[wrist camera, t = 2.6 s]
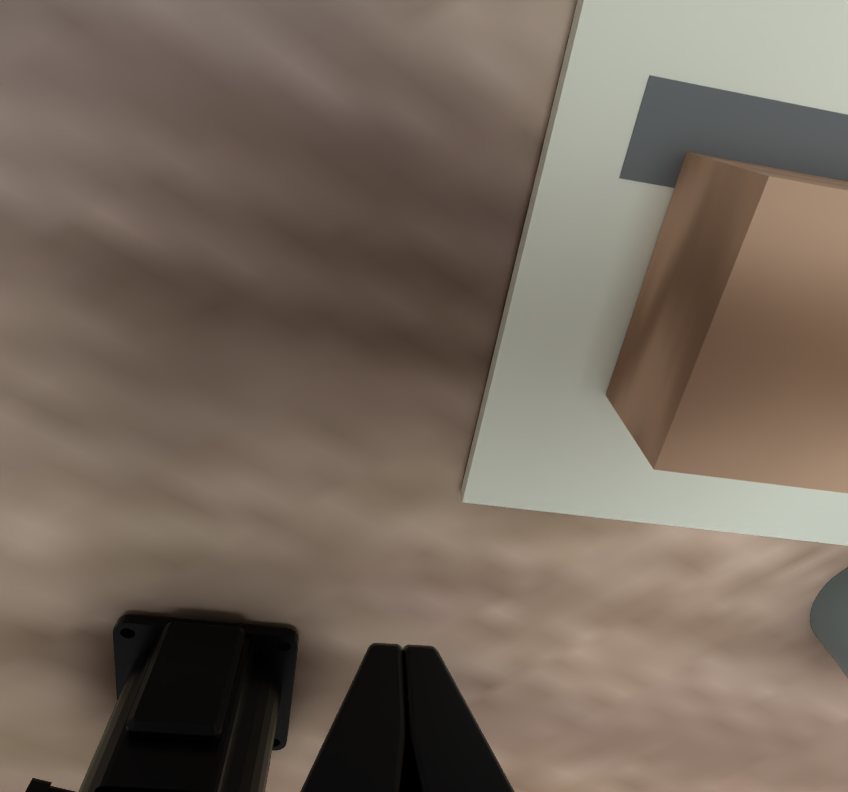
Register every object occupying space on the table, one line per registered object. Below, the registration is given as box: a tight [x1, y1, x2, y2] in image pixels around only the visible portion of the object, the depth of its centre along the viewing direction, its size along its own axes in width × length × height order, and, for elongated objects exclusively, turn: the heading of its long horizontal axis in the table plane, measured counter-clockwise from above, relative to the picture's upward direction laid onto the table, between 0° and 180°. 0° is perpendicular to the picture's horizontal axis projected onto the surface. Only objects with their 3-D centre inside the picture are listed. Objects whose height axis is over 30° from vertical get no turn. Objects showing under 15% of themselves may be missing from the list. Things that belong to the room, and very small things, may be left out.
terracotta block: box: [606, 152, 848, 493], centre depth 17 cm, size 7×7×4 cm
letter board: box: [461, 0, 848, 546], centre depth 19 cm, size 16×14×1 cm
